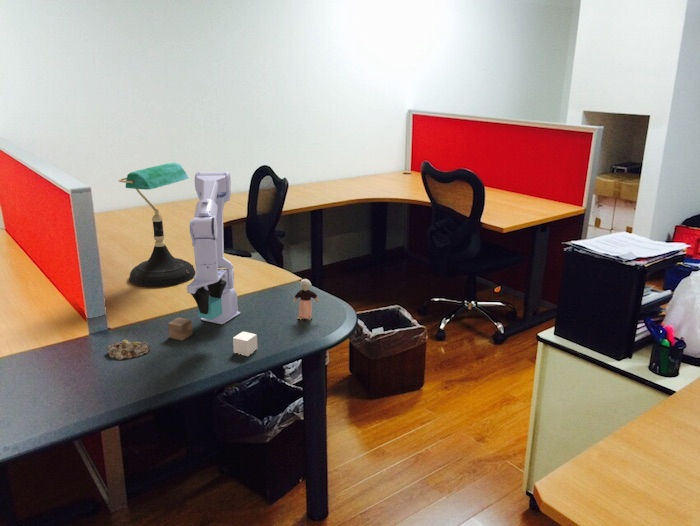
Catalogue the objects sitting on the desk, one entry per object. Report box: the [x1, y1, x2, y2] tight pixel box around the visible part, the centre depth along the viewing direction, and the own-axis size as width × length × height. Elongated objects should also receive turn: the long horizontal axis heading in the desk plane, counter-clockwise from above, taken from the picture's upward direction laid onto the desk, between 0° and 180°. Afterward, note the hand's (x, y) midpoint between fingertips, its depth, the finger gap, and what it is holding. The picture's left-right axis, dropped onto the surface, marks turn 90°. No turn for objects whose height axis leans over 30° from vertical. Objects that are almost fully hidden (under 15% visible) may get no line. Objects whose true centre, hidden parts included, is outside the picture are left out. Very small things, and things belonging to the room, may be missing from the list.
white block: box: [232, 331, 258, 357], centre depth 156 cm, size 4×4×4 cm
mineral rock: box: [107, 339, 151, 361], centre depth 156 cm, size 11×4×8 cm
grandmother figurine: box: [292, 278, 320, 321], centre depth 176 cm, size 8×4×13 cm, turn 99°
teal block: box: [196, 296, 222, 320], centre depth 158 cm, size 4×4×4 cm
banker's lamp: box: [118, 162, 196, 288], centre depth 208 cm, size 26×23×40 cm
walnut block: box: [167, 317, 193, 341], centre depth 165 cm, size 4×4×4 cm
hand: (209, 309), depth 158 cm, fingers closed on teal block, 4 cm apart
